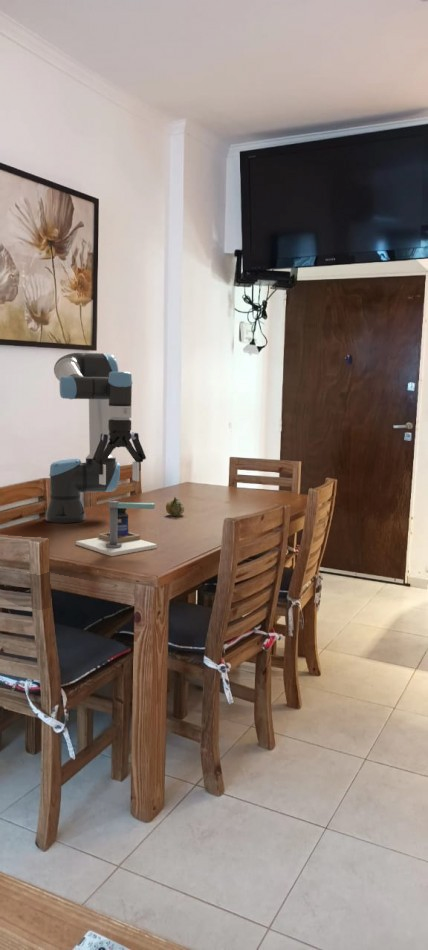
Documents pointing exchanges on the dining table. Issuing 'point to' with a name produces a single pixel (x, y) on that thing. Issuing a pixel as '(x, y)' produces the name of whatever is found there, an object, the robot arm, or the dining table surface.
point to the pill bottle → (122, 523)
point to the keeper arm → (130, 505)
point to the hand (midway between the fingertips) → (119, 482)
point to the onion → (175, 507)
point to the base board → (115, 552)
